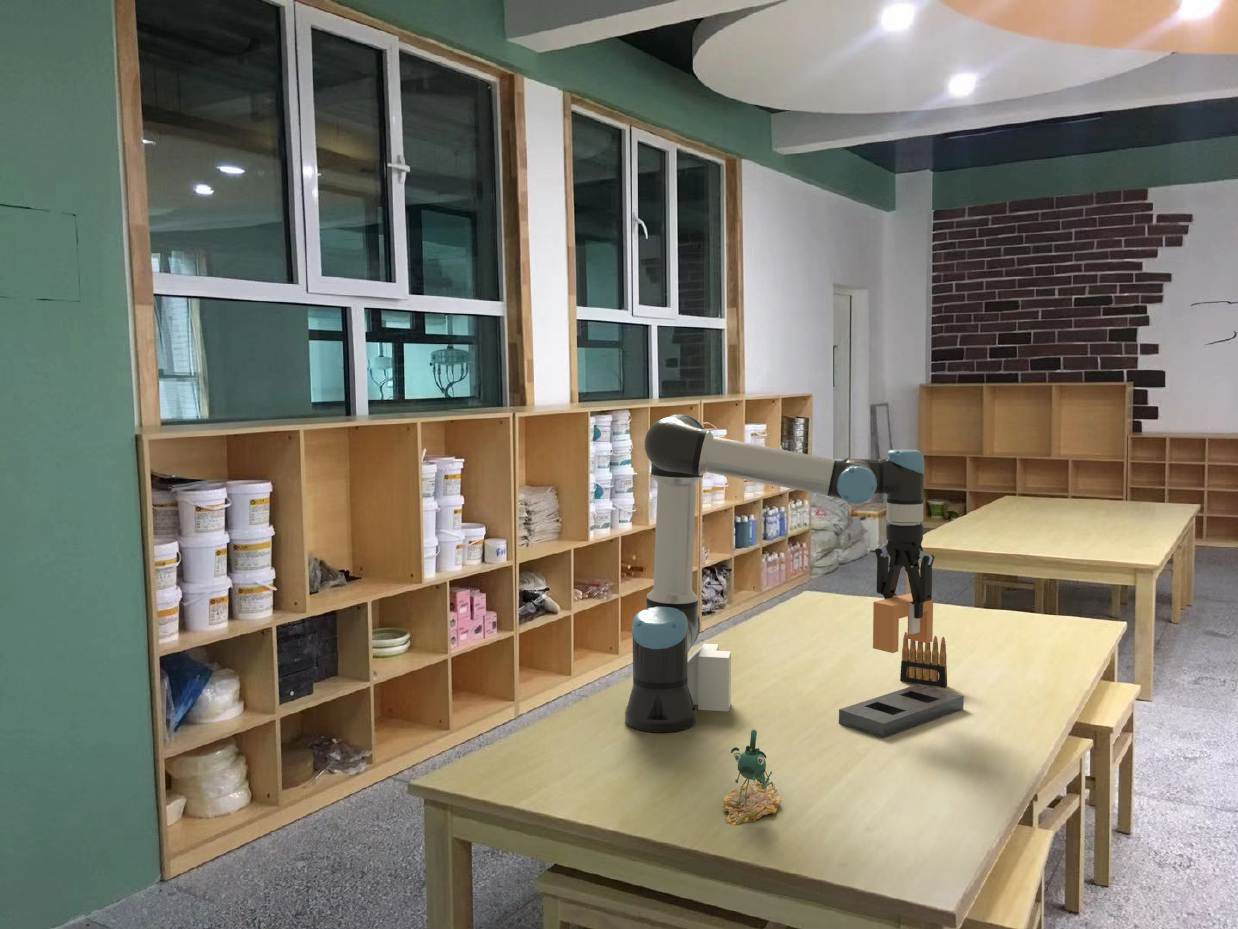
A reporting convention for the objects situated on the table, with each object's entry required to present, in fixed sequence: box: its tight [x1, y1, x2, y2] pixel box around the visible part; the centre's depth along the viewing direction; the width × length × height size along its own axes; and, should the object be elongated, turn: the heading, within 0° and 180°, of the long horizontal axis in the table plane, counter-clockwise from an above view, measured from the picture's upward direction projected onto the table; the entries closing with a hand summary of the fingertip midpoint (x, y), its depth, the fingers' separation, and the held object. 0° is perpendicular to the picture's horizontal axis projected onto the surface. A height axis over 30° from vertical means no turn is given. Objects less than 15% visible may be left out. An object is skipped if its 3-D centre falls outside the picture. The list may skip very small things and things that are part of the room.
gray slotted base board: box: [838, 684, 965, 739], centre depth 225 cm, size 28×12×3 cm, turn 128°
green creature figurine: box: [722, 728, 782, 826], centre depth 179 cm, size 10×18×15 cm, turn 145°
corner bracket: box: [687, 643, 732, 712], centre depth 235 cm, size 11×11×12 cm
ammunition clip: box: [899, 631, 948, 689], centre depth 247 cm, size 11×2×12 cm, turn 59°
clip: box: [872, 592, 934, 654], centre depth 223 cm, size 14×5×10 cm, turn 129°
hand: (903, 630), depth 223 cm, fingers closed on clip, 5 cm apart
